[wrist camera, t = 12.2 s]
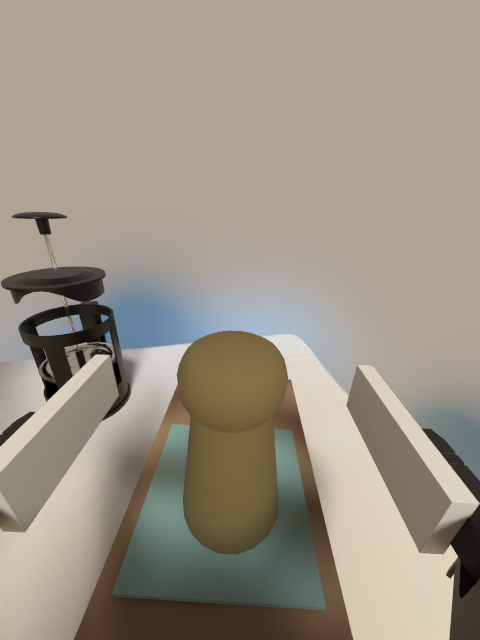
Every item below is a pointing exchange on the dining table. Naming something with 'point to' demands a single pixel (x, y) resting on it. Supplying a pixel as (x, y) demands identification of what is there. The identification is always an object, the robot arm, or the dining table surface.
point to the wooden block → (219, 557)
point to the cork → (231, 438)
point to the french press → (77, 287)
